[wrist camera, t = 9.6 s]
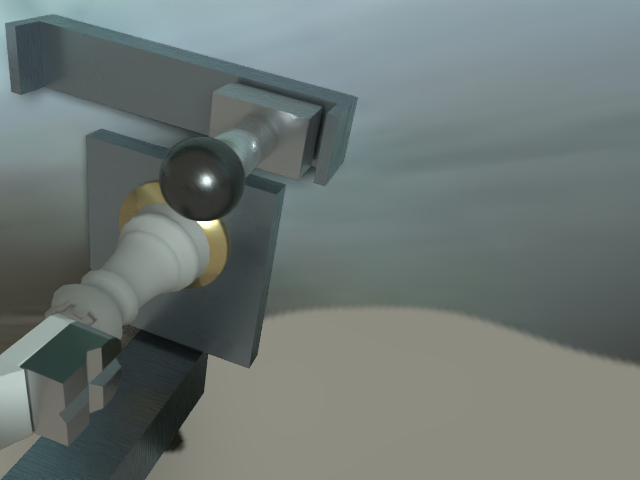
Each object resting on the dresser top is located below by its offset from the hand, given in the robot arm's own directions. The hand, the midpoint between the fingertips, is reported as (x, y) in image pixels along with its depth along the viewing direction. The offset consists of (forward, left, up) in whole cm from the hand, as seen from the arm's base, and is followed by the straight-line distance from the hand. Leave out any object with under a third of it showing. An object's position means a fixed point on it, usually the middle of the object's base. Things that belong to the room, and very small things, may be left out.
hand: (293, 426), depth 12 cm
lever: (+6, 0, -14) cm, 16 cm away
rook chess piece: (+10, +7, -15) cm, 19 cm away
